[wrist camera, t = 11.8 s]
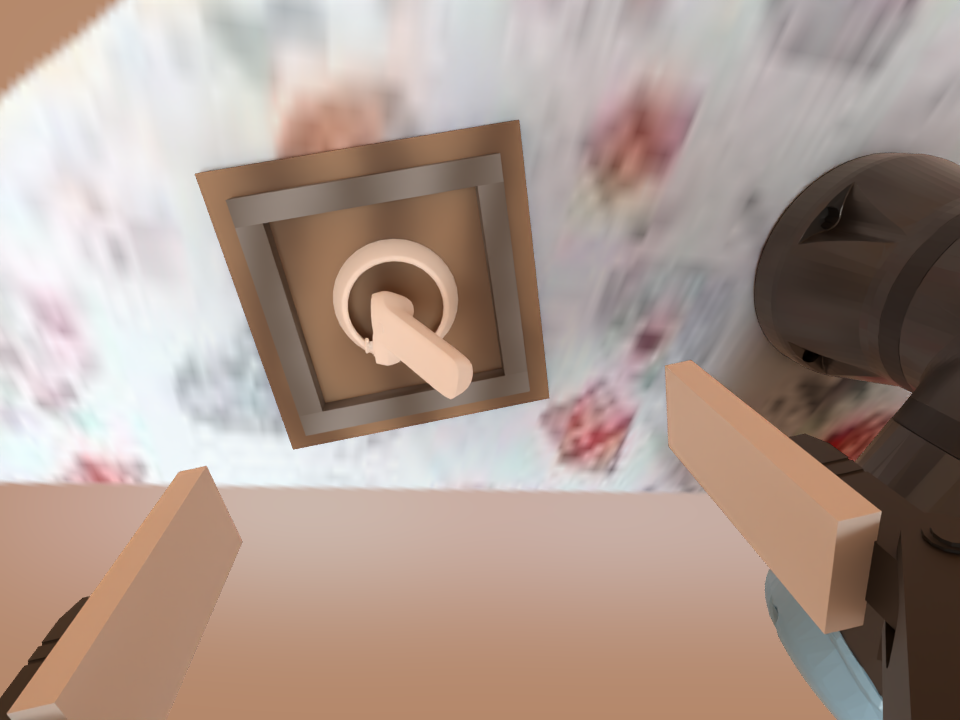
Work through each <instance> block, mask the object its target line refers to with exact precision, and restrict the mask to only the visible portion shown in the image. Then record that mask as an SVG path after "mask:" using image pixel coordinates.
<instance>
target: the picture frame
mask: <svg viewBox="0 0 960 720" xmlns="http://www.w3.org/2000/svg"><path fill="white" fill-rule="evenodd" d="M195 176H196V179H197V182H198V184H199V187H200V190H201V193H202V196H203V198H204V201H205V204H206V207H207V210H208V212H209V215H210V218H211V221H212V224H213V226H214V229H215V232H216V235H217V238H218V240H219V243H220V246H221V249H222V252H223V254H224V257H225V260H226V263H227V266H228V268H229V271H230V274H231V277H232V280H233V282H234V285H235V288H236V291H237V294H238V296H239V299H240V302H241V305H242V308H243V310H244V313H245V316H246V319H247V322H248V324H249V327H250V330H251V333H252V336H253V338H254V341H255V344H256V347H257V350H258V352H259V355H260V358H261V361H262V364H263V366H264V369H265V372H266V375H267V378H268V380H269V383H270V386H271V389H272V392H273V394H274V397H275V400H276V403H277V406H278V408H279V411H280V414H281V417H282V420H283V422H284V425H285V428H286V431H287V434H288V436H289V439H290V442H291V445H292V448H293V450H294V449H299V448H303V447H308V446H313V445H318V444H323V443H328V442H333V441H338V440H343V439H348V438H353V437H358V436H363V435H368V434H373V433H378V432H383V431H388V430H393V429H398V428H403V427H408V426H413V425H418V424H423V423H428V422H433V421H438V420H443V419H448V418H453V417H458V416H463V415H468V414H473V413H478V412H483V411H488V410H493V409H498V408H503V407H508V406H513V405H518V404H523V403H528V402H533V401H537V400H542V399H547V398H549V391H548V382H547V372H546V363H545V354H544V345H543V335H542V326H541V317H540V308H539V299H538V289H537V280H536V271H535V262H534V253H533V243H532V234H531V225H530V216H529V207H528V197H527V188H526V179H525V170H524V161H523V151H522V142H521V133H520V124H519V120H514V121H508V122H502V123H496V124H490V125H484V126H478V127H472V128H466V129H460V130H454V131H448V132H442V133H436V134H430V135H424V136H418V137H412V138H406V139H400V140H394V141H388V142H382V143H376V144H370V145H364V146H358V147H352V148H346V149H340V150H334V151H328V152H322V153H316V154H310V155H304V156H298V157H292V158H286V159H280V160H274V161H268V162H262V163H256V164H250V165H244V166H238V167H232V168H226V169H220V170H214V171H208V172H202V173H196V174H195ZM385 239H404V240H409V241H412V242H416V243H419V244H421V245H423V246H425V247H427V248H429V249H430V250H431V251H433V252H434V253H435V254H437V255H438V256H439V257H440V258H441V259H442V260H443V261H444V263H445V264H446V265H447V266H448V268H449V270H450V272H451V273H452V275H453V277H454V280H455V283H456V286H457V293H458V306H457V313H456V316H455V319H454V322H453V324H452V326H451V328H450V329H449V331H448V333H447V334H446V335H445V336H444V337H443V340H445V341H446V342H447V343H449V344H450V345H451V346H453V347H454V348H455V349H457V350H458V351H459V352H460V353H462V354H463V355H464V356H465V357H466V358H467V359H468V360H469V361H470V363H471V364H472V368H473V377H472V381H471V383H470V385H469V386H468V388H467V389H466V390H465V391H464V392H463V393H461V394H459V395H458V396H456V397H455V398H453V399H449V398H447V397H445V396H443V395H442V394H441V393H439V392H438V391H437V390H435V389H434V388H433V387H432V386H431V385H430V384H428V383H427V382H426V381H425V380H424V379H422V378H421V377H420V376H419V375H418V374H416V373H415V372H414V371H413V370H412V369H410V368H409V367H408V366H407V365H406V364H404V363H403V362H402V361H401V360H400V362H398V363H396V364H393V365H389V366H387V365H381V364H377V363H376V359H375V356H374V354H372V353H370V352H369V353H366V352H365V350H364V349H362V348H361V347H359V346H358V345H356V344H355V343H354V342H353V341H352V340H351V339H350V338H349V337H348V336H347V334H346V333H345V332H344V330H343V329H342V327H341V326H340V324H339V321H338V319H337V317H336V314H335V310H334V305H333V289H334V284H335V280H336V277H337V275H338V273H339V271H340V268H341V267H342V266H343V264H344V263H345V262H346V260H347V259H348V258H349V257H350V256H351V255H352V254H353V253H355V252H356V251H357V250H358V249H360V248H362V247H364V246H366V245H367V244H370V243H373V242H376V241H379V240H385ZM381 291H389V292H393V293H396V294H399V295H402V296H404V297H406V298H408V299H409V300H410V301H411V302H412V304H413V308H414V314H413V317H414V318H415V319H416V320H418V321H419V322H420V323H422V324H423V325H425V326H426V327H427V328H429V329H430V330H431V331H433V332H434V333H435V332H436V331H437V329H438V327H439V325H440V323H441V320H442V316H443V307H444V306H443V298H442V295H441V292H440V289H439V287H438V286H437V284H436V282H435V281H434V280H433V279H432V278H431V276H430V275H429V274H428V273H426V272H425V271H424V270H422V269H421V268H419V267H417V266H415V265H413V264H409V263H405V262H398V261H391V262H383V263H380V264H377V265H374V266H373V267H371V268H369V269H367V270H366V271H365V272H364V273H362V274H361V275H360V276H359V277H358V279H357V280H356V281H355V283H354V284H353V286H352V289H351V291H350V294H349V298H348V313H349V318H350V320H351V323H352V325H353V327H354V328H355V330H356V331H357V333H358V334H359V335H360V336H362V337H363V338H364V339H365V338H368V339H369V341H373V329H372V321H371V298H372V294H374V293H377V292H381Z"/></svg>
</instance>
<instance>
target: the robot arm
mask: <svg viewBox="0 0 960 720" xmlns="http://www.w3.org/2000/svg"><path fill="white" fill-rule="evenodd" d="M755 306H756V312H757V317H758V320H759V323H760V326H761V328H762V330H763V332H764V334H765V336H766V337H767V339H768V340H769V341H770V343H771V344H772V345H773V346H774V347H775V348H776V349H777V350H778V351H779V352H781V353H782V354H784V355H785V356H787V357H788V358H790V359H792V360H794V361H795V362H797V363H799V364H801V365H802V366H804V367H806V368H808V369H810V370H813V371H815V372H818V373H821V374H825V375H829V376H835V377H841V378H848V379H854V380H861V381H867V382H874V383H880V384H887V385H893V386H900V387H902V388H904V389H906V390H908V391H910V392H912V395H911V396H910V397H909V398H908V399H907V401H906V402H905V403H904V404H903V406H902V407H901V408H900V409H899V410H898V412H897V413H896V414H895V415H894V416H893V417H892V418H891V419H890V420H889V422H888V423H887V424H886V425H885V426H884V428H883V429H882V430H881V431H880V432H879V434H878V435H877V436H876V437H875V438H874V440H873V441H872V442H871V443H870V444H869V446H868V447H867V448H866V449H865V450H864V452H863V453H862V454H861V455H860V456H859V458H858V459H857V460H856V461H855V462H854V461H853V460H849V459H848V457H847V456H846V455H844V454H843V453H842V452H840V451H839V450H837V449H836V448H835V447H833V446H832V445H831V444H829V443H827V442H824V441H822V440H819V439H817V438H814V437H812V436H809V435H807V434H802V435H797V436H793V437H787V436H786V435H785V434H783V433H782V432H781V431H780V430H778V429H777V428H776V427H775V426H773V425H772V424H771V423H770V422H768V421H767V420H766V419H765V418H763V417H762V416H761V415H760V414H758V413H757V412H756V411H755V410H753V409H752V408H751V407H750V406H748V405H747V404H746V403H744V402H743V401H742V400H741V399H739V398H738V397H737V396H736V395H734V394H733V393H732V392H731V391H729V390H728V389H727V388H726V387H724V386H723V385H722V384H721V383H719V382H718V381H717V380H716V379H714V378H713V377H712V376H710V375H709V374H708V373H707V372H705V371H704V370H703V369H702V368H700V367H699V366H698V365H697V364H695V363H694V362H693V361H692V360H689V361H684V362H680V363H675V364H670V365H666V366H665V376H666V399H667V422H668V446H669V447H670V449H671V450H672V451H673V452H674V454H675V455H676V456H677V457H678V458H679V460H680V461H681V462H682V463H683V464H684V466H685V467H686V468H687V469H688V470H689V472H690V473H691V474H692V475H693V476H694V478H695V479H696V480H697V481H698V482H699V484H700V485H701V486H702V487H703V488H704V490H705V491H706V492H707V493H708V495H709V496H710V497H711V498H712V499H713V501H714V502H715V503H716V504H717V505H718V506H719V508H720V509H721V510H722V511H723V513H724V514H725V515H726V516H727V517H728V519H729V520H730V521H731V522H732V523H733V525H734V526H735V527H736V528H737V529H738V531H739V532H740V533H741V534H742V535H743V537H744V538H745V539H746V540H747V541H748V543H749V544H750V545H751V546H752V548H753V549H754V550H755V551H756V552H757V554H758V555H759V556H760V557H761V558H762V560H763V561H764V562H765V563H766V564H767V566H768V567H769V568H770V570H769V571H768V574H767V577H766V582H765V598H766V603H767V607H768V611H769V615H770V617H771V619H772V621H773V623H774V625H775V627H776V629H777V633H778V636H779V638H780V640H781V642H782V644H783V646H784V648H785V649H786V651H787V653H788V655H789V656H790V658H791V660H792V661H793V663H794V664H795V666H796V667H797V669H798V670H799V672H800V673H801V675H802V676H803V678H804V679H805V681H806V682H807V683H808V685H809V686H810V687H811V689H812V690H813V691H814V693H815V694H816V695H817V696H818V698H819V699H820V700H821V701H822V703H823V704H824V705H825V706H826V707H827V708H828V709H829V711H830V712H831V713H832V714H833V716H834V717H835V718H836V719H837V720H960V165H957V164H955V163H953V162H951V161H949V160H946V159H943V158H939V157H935V156H931V155H925V154H908V153H879V154H872V155H868V156H864V157H860V158H857V159H854V160H852V161H849V162H847V163H845V164H843V165H840V166H839V167H837V168H835V169H833V170H831V171H830V172H828V173H827V174H825V175H824V176H822V177H821V178H819V179H818V180H817V181H815V182H814V183H813V184H812V185H810V186H809V187H808V188H807V189H806V190H805V191H804V192H803V193H802V194H801V195H800V196H799V197H798V198H797V199H796V200H795V201H794V202H793V203H792V204H791V206H790V207H789V208H788V209H787V211H786V212H785V213H784V214H783V216H782V217H781V219H780V220H779V222H778V223H777V225H776V226H775V228H774V230H773V232H772V233H771V235H770V237H769V239H768V241H767V244H766V246H765V248H764V251H763V253H762V256H761V259H760V262H759V266H758V270H757V275H756V282H755ZM241 544H242V539H241V537H240V535H239V533H238V531H237V529H236V527H235V525H234V523H233V520H232V518H231V516H230V514H229V512H228V510H227V508H226V506H225V504H224V502H223V499H222V497H221V495H220V493H219V491H218V489H217V487H216V485H215V483H214V480H213V478H212V476H211V474H210V472H209V470H208V468H207V466H204V467H199V468H195V469H190V470H185V471H181V472H179V473H178V474H177V475H176V477H175V478H174V480H173V481H172V482H171V484H170V485H169V487H168V488H167V489H166V491H165V492H164V494H163V495H162V497H161V498H160V500H159V501H158V502H157V503H156V505H155V506H154V508H153V509H152V510H151V512H150V513H149V515H148V516H147V517H146V519H145V520H144V522H143V523H142V525H141V526H140V527H139V529H138V530H137V531H136V533H135V534H134V536H133V537H132V538H131V540H130V542H129V543H128V544H127V546H126V547H125V548H124V550H123V551H122V552H121V554H120V555H119V557H118V558H117V560H116V561H115V563H114V564H113V565H112V567H111V568H110V569H109V571H108V572H107V574H106V575H105V576H104V578H103V579H102V581H101V582H100V583H99V585H98V586H97V588H96V589H95V590H94V592H93V593H92V595H91V596H89V597H85V598H82V599H81V600H80V601H79V602H78V603H76V604H75V605H74V606H73V607H72V608H71V609H70V610H69V611H68V612H66V613H65V614H64V615H63V616H62V617H61V618H60V619H59V620H58V622H57V623H56V624H55V625H54V627H53V628H52V629H51V631H50V632H49V633H48V635H47V636H46V637H45V639H44V640H43V641H42V646H39V647H38V648H37V649H36V651H35V652H34V653H33V655H32V656H31V657H30V659H29V660H28V665H26V666H24V667H23V668H22V670H21V671H20V672H19V674H18V675H17V676H16V678H15V679H14V680H13V682H12V683H11V684H10V686H9V687H8V688H7V690H6V691H5V692H4V694H3V695H2V696H1V698H0V720H166V719H167V717H168V714H169V712H170V709H171V707H172V705H173V703H174V700H175V698H176V695H177V693H178V691H179V689H180V686H181V684H182V682H183V679H184V677H185V675H186V672H187V670H188V668H189V665H190V663H191V661H192V658H193V656H194V654H195V651H196V649H197V647H198V644H199V642H200V640H201V637H202V635H203V633H204V630H205V628H206V626H207V623H208V621H209V619H210V616H211V614H212V612H213V610H214V607H215V605H216V603H217V600H218V598H219V596H220V593H221V591H222V588H223V586H224V584H225V582H226V579H227V577H228V575H229V572H230V570H231V567H232V565H233V563H234V561H235V558H236V556H237V554H238V551H239V549H240V547H241Z"/></svg>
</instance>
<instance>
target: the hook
mask: <svg viewBox="0 0 960 720" xmlns="http://www.w3.org/2000/svg"><path fill="white" fill-rule="evenodd" d="M391 261H398V262H405V263H409V264H413V265H415V266H417V267H419V268H421V269H422V270H424V271H425V272H426V273H428V274H429V275H430V276H431V278H432V279H433V280H434V281H435V282H436V284H437V286H438V287H439V289H440V292H441V295H442V298H443V306H444V307H443V316H442V320H441V323H440V325H439V327H438V329H437V331H436V332H435V333H434V332H433V331H431V330H430V329H429V328H427V327H426V326H425V325H423V324H422V323H420V322H419V321H418V320H416V319H415V318H414V317H413V314H414V308H413V304H412V302H411V301H410V300H409V299H408V298H406V297H404V296H402V295H399V294H396V293H393V292H389V291H381V292H377V293H374V294H372V298H371V321H372V329H373V341H369V339H368V338H365V339H364V338H363V337H362V336H360V335H359V334H358V333H357V331H356V330H355V328H354V327H353V325H352V323H351V320H350V318H349V313H348V298H349V294H350V291H351V289H352V286H353V284H354V283H355V281H356V280H357V279H358V277H359V276H360V275H361V274H362V273H364V272H365V271H366V270H367V269H369V268H371V267H373V266H374V265H377V264H380V263H383V262H391ZM333 305H334V310H335V314H336V317H337V319H338V321H339V324H340V326H341V327H342V329H343V330H344V332H345V333H346V334H347V336H348V337H349V338H350V339H351V340H352V341H353V342H354V343H355V344H356V345H358V346H359V347H361V348H362V349H364V350H365V352H366V353H369V352H370V353H372V354H374V356H375V359H376V363H377V364H381V365H387V366H389V365H393V364H396V363H398V362H400V360H401V361H402V362H403V363H404V364H406V365H407V366H408V367H409V368H410V369H412V370H413V371H414V372H415V373H416V374H418V375H419V376H420V377H421V378H422V379H424V380H425V381H426V382H427V383H428V384H430V385H431V386H432V387H433V388H434V389H435V390H437V391H438V392H439V393H441V394H442V395H443V396H445V397H447V398H449V399H453V398H455V397H456V396H458V395H459V394H461V393H463V392H464V391H465V390H466V389H467V388H468V386H469V385H470V383H471V381H472V377H473V368H472V364H471V363H470V361H469V360H468V359H467V358H466V357H465V356H464V355H463V354H462V353H460V352H459V351H458V350H457V349H455V348H454V347H453V346H451V345H450V344H449V343H447V342H446V341H445V340H443V337H444V336H445V335H446V334H447V333H448V331H449V329H450V328H451V326H452V324H453V322H454V319H455V316H456V313H457V306H458V293H457V286H456V283H455V280H454V277H453V275H452V273H451V272H450V270H449V268H448V266H447V265H446V264H445V263H444V261H443V260H442V259H441V258H440V257H439V256H438V255H437V254H435V253H434V252H433V251H431V250H430V249H429V248H427V247H425V246H423V245H421V244H419V243H416V242H412V241H409V240H404V239H385V240H379V241H376V242H373V243H370V244H367V245H366V246H364V247H362V248H360V249H358V250H357V251H356V252H355V253H353V254H352V255H351V256H350V257H349V258H348V259H347V260H346V262H345V263H344V264H343V266H342V267H341V268H340V271H339V273H338V275H337V277H336V280H335V284H334V289H333Z"/></svg>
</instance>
